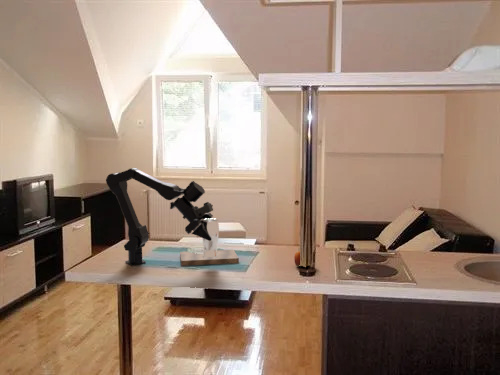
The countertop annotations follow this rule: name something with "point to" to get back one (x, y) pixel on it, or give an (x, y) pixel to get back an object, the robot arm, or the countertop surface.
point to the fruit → (297, 258)
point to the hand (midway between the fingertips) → (213, 238)
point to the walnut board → (198, 259)
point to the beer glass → (213, 232)
